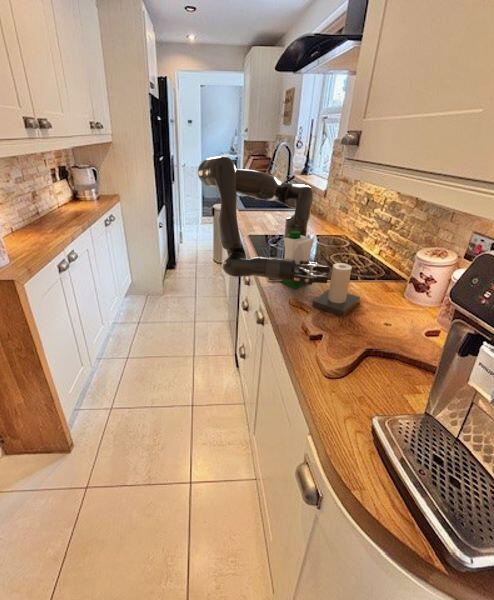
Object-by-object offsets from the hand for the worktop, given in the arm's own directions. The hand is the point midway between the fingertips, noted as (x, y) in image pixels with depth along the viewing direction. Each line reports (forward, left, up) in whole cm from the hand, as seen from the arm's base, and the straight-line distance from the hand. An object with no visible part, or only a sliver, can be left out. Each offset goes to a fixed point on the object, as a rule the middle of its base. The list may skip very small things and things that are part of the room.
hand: (328, 274), depth 108 cm
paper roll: (-1, +4, -8) cm, 9 cm away
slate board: (-1, +4, -10) cm, 11 cm away
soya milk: (-7, -16, -11) cm, 20 cm away
